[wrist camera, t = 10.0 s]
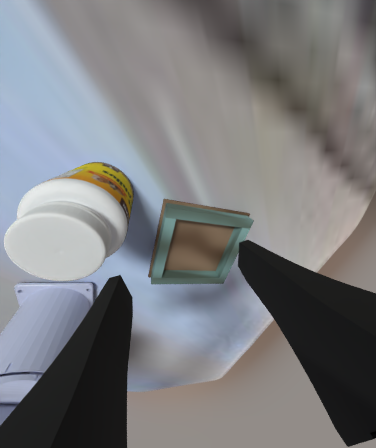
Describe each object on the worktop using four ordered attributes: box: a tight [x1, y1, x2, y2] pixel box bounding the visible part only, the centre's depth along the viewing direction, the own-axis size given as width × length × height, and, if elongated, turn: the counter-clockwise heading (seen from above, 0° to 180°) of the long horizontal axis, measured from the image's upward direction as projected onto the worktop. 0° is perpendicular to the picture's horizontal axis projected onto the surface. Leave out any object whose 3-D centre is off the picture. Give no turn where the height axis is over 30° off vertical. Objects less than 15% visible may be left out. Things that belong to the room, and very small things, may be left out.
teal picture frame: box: [148, 199, 253, 284], centre depth 22 cm, size 12×12×2 cm
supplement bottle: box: [4, 162, 134, 281], centre depth 12 cm, size 6×6×10 cm
